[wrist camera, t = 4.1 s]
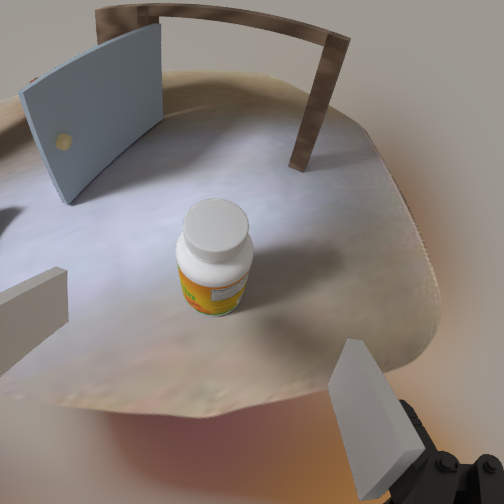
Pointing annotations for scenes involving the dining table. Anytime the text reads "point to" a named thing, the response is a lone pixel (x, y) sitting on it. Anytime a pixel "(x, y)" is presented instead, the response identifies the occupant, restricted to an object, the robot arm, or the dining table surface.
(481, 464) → the robot arm
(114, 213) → the dining table surface
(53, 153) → the door
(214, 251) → the supplement bottle
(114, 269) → the dining table surface
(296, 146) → the door frame
